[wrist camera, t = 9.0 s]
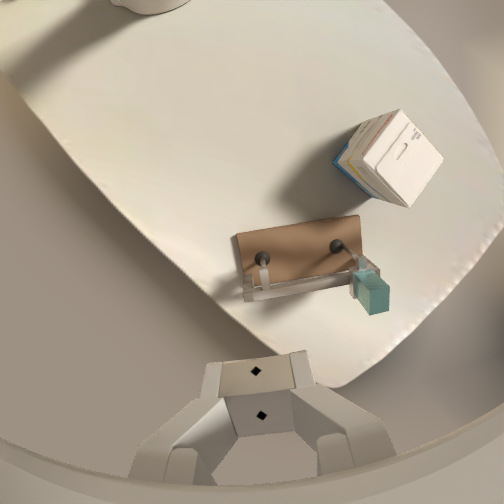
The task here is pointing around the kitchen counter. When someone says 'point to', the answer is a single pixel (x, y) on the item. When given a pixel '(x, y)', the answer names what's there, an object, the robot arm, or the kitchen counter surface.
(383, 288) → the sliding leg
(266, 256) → the board
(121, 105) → the kitchen counter surface
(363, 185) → the ink box
